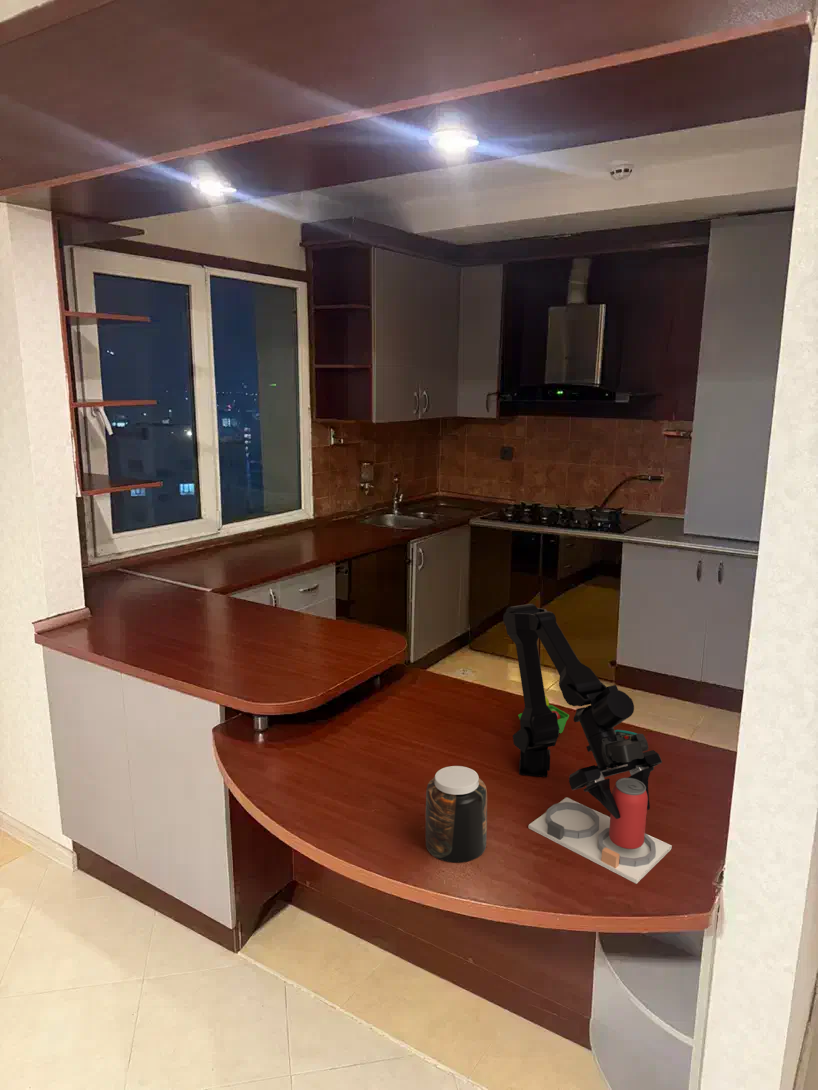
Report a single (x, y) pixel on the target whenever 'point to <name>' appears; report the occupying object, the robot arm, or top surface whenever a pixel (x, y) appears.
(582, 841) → the board
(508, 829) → the top surface
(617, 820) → the beer can
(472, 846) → the jar
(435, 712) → the top surface
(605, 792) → the robot arm
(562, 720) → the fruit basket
